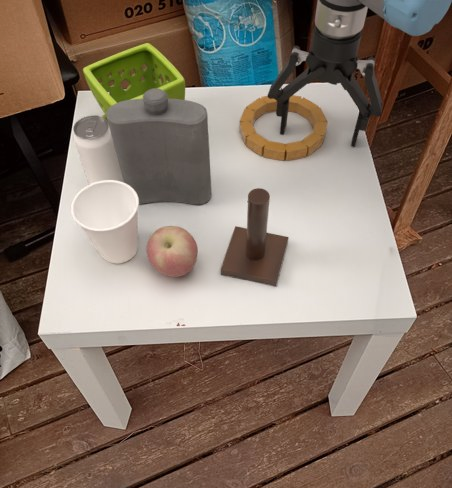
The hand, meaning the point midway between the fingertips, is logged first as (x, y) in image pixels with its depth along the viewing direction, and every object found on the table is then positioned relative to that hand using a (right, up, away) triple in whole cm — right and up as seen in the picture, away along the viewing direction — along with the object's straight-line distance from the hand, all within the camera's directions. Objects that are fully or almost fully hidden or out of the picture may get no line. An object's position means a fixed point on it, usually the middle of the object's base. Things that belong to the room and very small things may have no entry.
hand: (318, 135), depth 96 cm
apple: (-26, -26, -15) cm, 40 cm away
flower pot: (-34, +1, +2) cm, 34 cm away
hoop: (-7, +1, +1) cm, 7 cm away
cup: (-35, -23, -13) cm, 44 cm away
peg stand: (-13, -25, -15) cm, 31 cm away
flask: (-28, -13, -7) cm, 31 cm away
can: (-39, -10, -5) cm, 41 cm away
